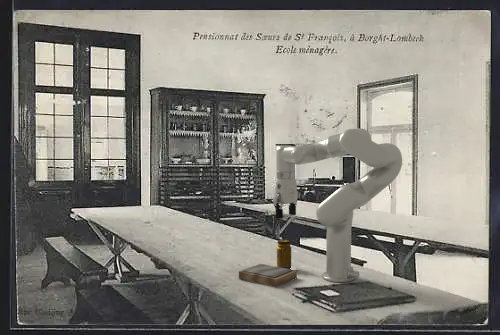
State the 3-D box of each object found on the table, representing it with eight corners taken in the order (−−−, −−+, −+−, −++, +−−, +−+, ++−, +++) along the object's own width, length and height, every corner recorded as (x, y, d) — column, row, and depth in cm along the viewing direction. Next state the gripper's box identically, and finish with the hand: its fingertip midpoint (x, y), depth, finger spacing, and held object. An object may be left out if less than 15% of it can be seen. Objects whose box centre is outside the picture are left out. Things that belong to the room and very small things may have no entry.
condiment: (275, 266, 237) (274, 239, 236) (294, 266, 238) (294, 238, 237) (277, 271, 230) (277, 243, 228) (297, 270, 231) (297, 242, 229)
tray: (296, 278, 220) (296, 269, 220) (276, 287, 209) (276, 278, 209) (260, 270, 231) (259, 262, 231) (238, 278, 220) (238, 270, 219)
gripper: (281, 178, 221) (281, 220, 223) (304, 174, 235) (304, 214, 236) (265, 177, 225) (266, 218, 227) (289, 173, 239) (289, 212, 241)
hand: (285, 216), depth 232 cm, fingers open, 9 cm apart
